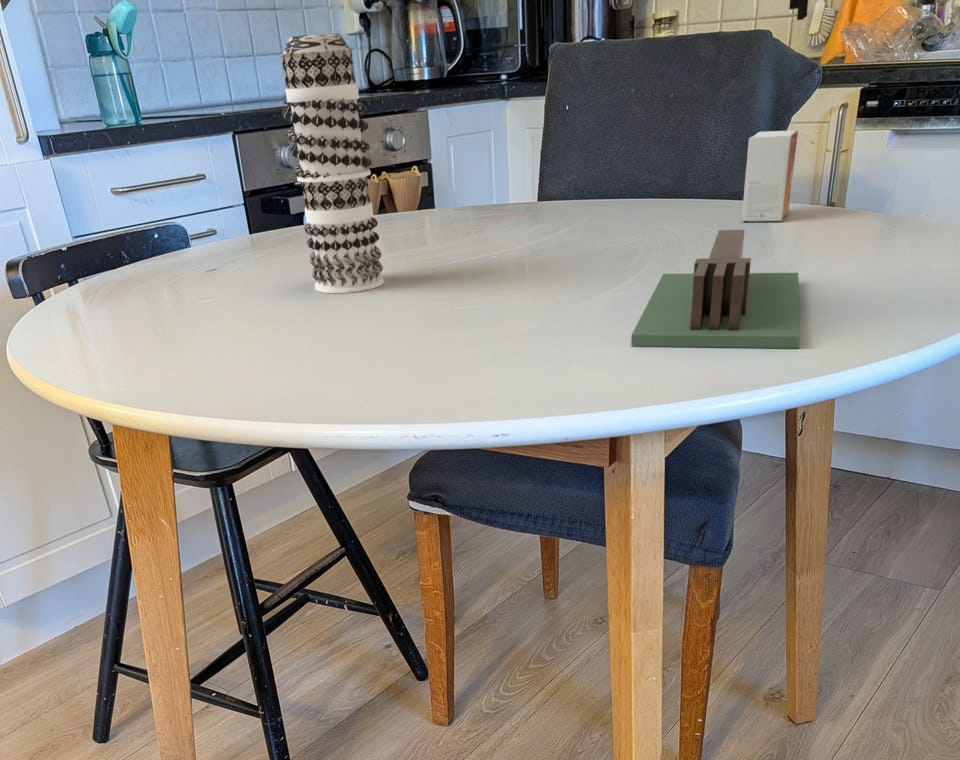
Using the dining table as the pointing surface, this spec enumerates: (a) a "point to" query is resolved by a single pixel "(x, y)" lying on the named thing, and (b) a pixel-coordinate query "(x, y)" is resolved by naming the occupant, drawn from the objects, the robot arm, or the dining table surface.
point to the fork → (721, 282)
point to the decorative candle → (331, 162)
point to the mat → (761, 326)
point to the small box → (769, 175)
